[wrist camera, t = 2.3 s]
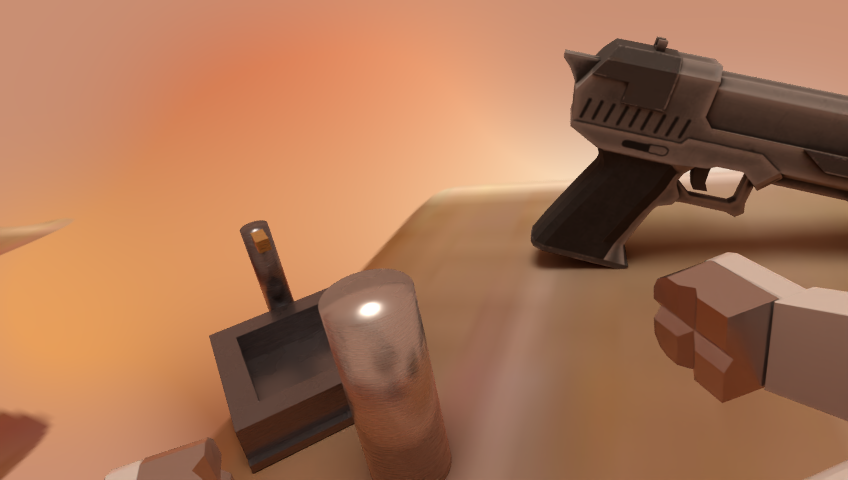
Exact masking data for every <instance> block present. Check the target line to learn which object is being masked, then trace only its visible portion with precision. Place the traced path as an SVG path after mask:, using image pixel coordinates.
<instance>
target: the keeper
mask: <svg viewBox="0 0 848 480" xmlns="http://www.w3.org/2000/svg"><path fill="white" fill-rule="evenodd" d="M240 233H241V235H242V238H243V241H244V244H245V246H246V249H247V252H248V254H249V257H250V260H251V263H252V265H253V268H254V271H255V274H256V276H257V279H258V281H259V284H260V287H261V290H262V293H263V295H264V298H265V301H266V304H267V306H268V309H269V312H267V313H264V314H262V315H260V316H257V317H254V318H252V319H249V320H247V321H244V322H242V323H240V324H237V325H235V326H232V327H230V328H227V329H225V330H222V331H220V332H217V333H215V334H212V335H210V336H209V337H210V341H211V345H212V348H213V352H214V356H215V359H216V363H217V366H218V370H219V374H220V378H221V381H222V385H223V389H224V392H225V396H226V400H227V403H228V407H229V410H230V414H231V418H232V422H233V425H234V429H235V432H236V435H237V437H238V439H239V441H240V443H241V446H242V448H243V450H244V452H245V454H246V457H247V459H248V462H249V465H250V468H251V470H252V472H253V473H255V472H257V471H259V470H261V469H263V468H265V467H267V466H269V465H271V464H273V463H275V462H277V461H279V460H281V459H283V458H285V457H287V456H289V455H291V454H293V453H295V452H297V451H299V450H301V449H303V448H305V447H307V446H309V445H311V444H313V443H315V442H317V441H319V440H321V439H323V438H325V437H327V436H329V435H331V434H333V433H335V432H337V431H339V430H341V429H343V428H345V427H348V426H350V425H352V424H354V420H353V417H352V414H351V411H350V407H349V404H348V401H347V398H346V395H345V392H344V388H343V385H342V382H341V379H340V376H339V373H338V370H337V366H336V363H335V360H334V357H333V354H332V351H331V347H330V344H329V341H328V338H327V335H326V332H325V329H324V325H323V322H322V319H321V316H320V313H319V310H318V302H319V300H320V298H321V296H322V294H323V293H324V292H325V291H326V290H327V289H328V288H327V289H324V290H322V291H319V292H317V293H314V294H312V295H309V296H307V297H304V298H302V299H299V300H297V301H294V300H293V297H292V294H291V291H290V288H289V285H288V282H287V280H286V277H285V274H284V271H283V268H282V265H281V262H280V259H279V256H278V253H277V250H276V247H275V244H274V241H273V238H272V235H271V232H270V229H269V227H268V224H267V222H266V221H254V222H251V223H248V224H246V225H244V226H243V227H242V228H241V229H240Z"/></svg>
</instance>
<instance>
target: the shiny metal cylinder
mask: <svg viewBox="0 0 848 480" xmlns="http://www.w3.org/2000/svg"><path fill="white" fill-rule="evenodd" d="M318 310H319V313H320V316H321V319H322V322H323V325H324V329H325V332H326V335H327V338H328V341H329V344H330V347H331V351H332V354H333V357H334V360H335V363H336V366H337V370H338V373H339V376H340V379H341V382H342V385H343V388H344V392H345V395H346V398H347V401H348V404H349V407H350V411H351V414H352V417H353V420H354V423H355V426H356V430H357V433H358V436H359V439H360V442H361V445H362V448H363V452H364V455H365V458H366V461H367V464H368V467H369V471H370V474H371V477H372V480H445V478H446V477H447V475H448V473H449V471H450V467H451V453H450V448H449V444H448V439H447V435H446V430H445V425H444V421H443V416H442V412H441V407H440V402H439V398H438V393H437V389H436V384H435V379H434V375H433V370H432V366H431V361H430V356H429V352H428V347H427V342H426V338H425V333H424V329H423V324H422V319H421V315H420V310H419V306H418V301H417V296H416V292H415V287H414V283H413V281H412V279H411V278H410V277H409V276H408V275H407V274H405V273H403V272H401V271H397V270H393V269H372V270H366V271H361V272H358V273H355V274H352V275H349V276H347V277H345V278H343V279H341V280H339V281H337V282H336V283H334V284H333V285H331V286H330V287H329V288H328V289H327V290H326V291H325V292H324V293H323V294H322V296H321V298H320V300H319V302H318Z"/></svg>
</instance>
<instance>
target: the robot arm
mask: <svg viewBox="0 0 848 480" xmlns="http://www.w3.org/2000/svg"><path fill="white" fill-rule="evenodd" d="M654 299H655V300H656V301H657V302H658V303H659V304H660V305H661V307H660V308H659V310H658V312H657V314H656V315H655V317H654V329H655V335H656V337H657V340H658V342H659V345H660V347H661V348H662V350H663V351H664V352H665V354H666V355H667V356H668V357H669V358H670V359H671V360H672V361H673V362H674V363H676V364H677V365H680V366H683V367H687V368H690V369H693V373H694V380H695V381H697V382H698V383H699V384H700V385H701V386H703V387H704V388H705V389H706V390H707V391H708V392H710V393H711V394H712V395H713V396H714V397H716V398H717V399H718V400H719V401H720V402H722V403H724V402H726V401H729V400H732V399H734V398H737V397H740V396H742V395H745V394H748V393H750V392H753V391H756V390H758V389H761V388H764V387H765V390H767V391H769V392H772V393H775V394H777V395H780V396H783V397H785V398H788V399H791V400H793V401H796V402H798V403H801V404H804V405H806V406H809V407H812V408H814V409H817V410H820V411H822V412H825V413H828V414H830V415H833V416H836V417H838V418H841V419H844V420H846V421H848V292H845V291H838V290H832V289H825V288H819V287H812V288H809V289H805V288H803V287H801V286H799V285H797V284H795V283H793V282H791V281H790V280H788V279H786V278H784V277H782V276H780V275H778V274H776V273H774V272H772V271H770V270H768V269H766V268H765V267H763V266H761V265H759V264H757V263H755V262H753V261H751V260H749V259H747V258H745V257H743V256H741V255H740V254H738V253H731V252H727V253H724V254H722V255H719V256H716V257H714V258H711V259H708V260H706V261H704V262H703V263H700V264H697V265H694V266H692V267H689V268H686V269H683V270H680V271H678V272H675V273H672V274H669V275H667V276H664V277H661V278H658V279H657V281H656V283H655V286H654ZM104 480H234V479H233V477H232V474H231V473H229V472H226V471H224V470H222V469H221V453H220V451H219V449H218V447H217V445H216V443H215V442H214V440H213V439H211V438H209V437H208V438H205V439H202V440H199V441H195V442H192V443H190V444H187V445H183V446H180V447H177V448H174V449H171V450H168V451H165V452H162V453H159V454H156V455H153V456H150V457H147V458H145V459H144V460H139V461H136V462H133V463H131V464H128V465H124V466H122V467H119V468H116V469H113V470H111V471H110V472H109V473H108V474H107V476H106V477H105V479H104ZM804 480H848V460H846V461H844V462H841V463H839V464H837V465H835V466H832V467H830V468H828V469H826V470H824V471H821V472H819V473H817V474H815V475H813V476H810V477H808V478H806V479H804Z"/></svg>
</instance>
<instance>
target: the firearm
mask: <svg viewBox="0 0 848 480" xmlns="http://www.w3.org/2000/svg"><path fill="white" fill-rule="evenodd" d="M667 44H668V41H667V40H666V38H662V37H657V38H656V41H655V44H654V46H653V45H648V44H643V43H638V42H633V41H628V40H623V39H618V38H617V39H615V40H614V41H612V42H611V43H609V44H608V45H606V46H605V47H603V48H602V49H601V50H600V51H599V52H598V54H597V55H590V54H585V53H580V52H575V51H570V50H565V53H564V58H565V59H566V61H567V62H568V64H569V65H570V67H571V70H572V73H573V76H574V79H575V85H574V94H573V103H572V106H571V127H573V128H574V129H575V130H576V131H578V132H579V133H580V134H581V135H582V136H584V137H585V138H586V139H587V140H589V141H590V142H591V143H592V144H594V145H595V146H596V147H597V148H598V151H599V154H598V156H597V158H596V159H595V160H594V161H593V162H592V163H591V164H590V165H589V166H588V167H587V168H586V169H585V170H584V171H583V172H582V173H581V174H580V175H579V176H578V178H576V179H575V180H574V182H573V183H572V184H571V185H570V186H569V187H568V188H567V189H566V190H565V191H564V192H563V193H562V194H561V195H560V196H559V197H558V199H557V200H556V201H555V202H554V203H553V204H552V205H551V206H550V207H549V208H548V209H547V210H546V211H545V213H544V214H543V215H542V216H541V217H540V219H539V220H538V221H537V222H536V223H535V225H533V227H532V232H531V242H532V244H533V246H535V247H537V248H538V249H540V250H542V251H546V252H550V253H554V254H559V255H563V256H567V257H571V258H575V259H579V260H583V261H587V262H591V263H595V264H599V265H603V266H607V267H611V268H615V269H625V268H626V267H627V266H628V263H627V257H626V251H625V245H624V243H625V242H626V241H627V240H628V238H629V237H630V236H631V235H632V233H633V232H634V231H635V230H636V228H637V227H638V226H639V225H640V224H641V222H642V221H643V220H644V219H645V218H646V217H647V215H648V214H649V213H650V212H651V211H652V210H653V209H654V208H655V207H657V206H662V205H672V204H673V203H674V202H683V203H688V204H692V205H697V206H701V207H706V208H710V209H715V210H719V211H724V212H727V213H728V214H730V215H732V216H734V217H736V216H738V215H740V214H743V213H744V207H745V202H746V200H747V198H748V196H749V194H750V192H751V190H752V188H753V186H754V187H755V189H756V190H757V191H758V190H760V189H762V188H764V187H766V186H768V185H770V184H774V185H778V186H783V187H787V188H792V189H796V190H801V191H805V192H810V193H814V194H819V195H823V196H828V197H832V198H837V199H841V200H846V201H848V96H846V95H841V94H836V93H831V92H826V91H821V90H816V89H811V88H806V87H801V86H796V85H791V84H786V83H781V82H776V81H771V80H766V79H761V78H756V77H751V76H746V75H741V74H736V73H732V72H727V71H722V69H723V66H722V65H721V64H720V63H718V61H717V60H716V59H712V58H707V57H702V56H697V55H692V54H687V53H682V52H678V51H677V50H673V49H668V48H666V47H667ZM713 167H721V168H726V169H731V170H736V171H741V172H744V175H743V177H742V179H741V181H740V183H739V185H738V187H737V189H736V191H735V193H734V195H733V196H732V197H729V198H727V199H725V198H720V197H715V196H710V195H705V194H701V193H696V192H691V191H687V190H686V189H685V187H684V186H683V185H682V183H681V182H680V181H679V180H678V179H679V178H680V177H681V176H682V175H683V174H684V173H686V172H687V171H689V170H690V183H691V185H692V187H693V189H695V190H702V191H707V189H706V184H705V182H706V179H707V176H708V173H709V171H710V169H711V168H713Z"/></svg>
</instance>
